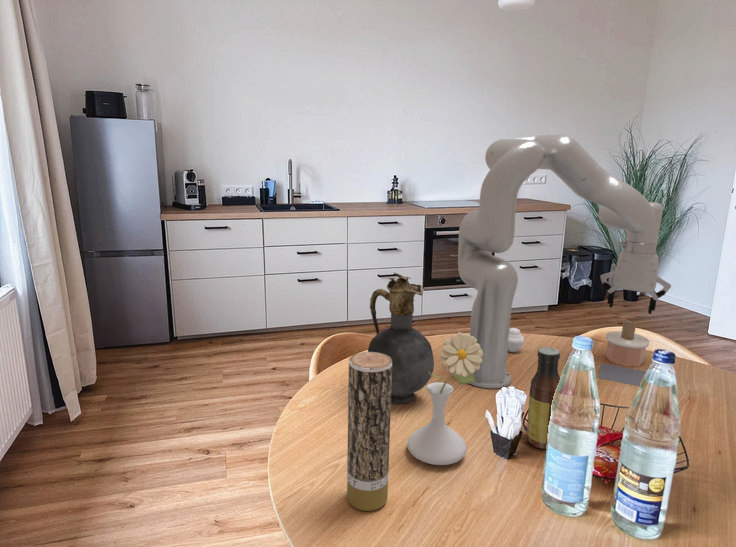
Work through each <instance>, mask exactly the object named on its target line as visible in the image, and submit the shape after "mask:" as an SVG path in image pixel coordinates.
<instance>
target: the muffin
mask: <svg viewBox="0 0 736 547" xmlns="http://www.w3.org/2000/svg"><path fill="white" fill-rule="evenodd" d="M524 343H525V337H524V336H523V335H522V333H521V330H520V329H519V328H516V327H510V329H509V340H508V351H507V352H510V353H518V352H519V351H520V350H521V348H522V347H523V344H524Z"/></svg>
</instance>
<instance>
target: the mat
mask: <svg viewBox="0 0 736 547" xmlns="http://www.w3.org/2000/svg"><path fill="white" fill-rule="evenodd" d="M645 373H646V374H647V371H646V370H641V369H633V368H630V367H626V366H620V365H614V364H608V363H604V362H602V363H600V368H599V372H598V377H597V378H598V379H601V380H604V381H605V380H606V381H610V382H615V383H616V382H617V383H620V384H627V385H631V386H636V387H640V383H641V381H642V379H643V377H644V375H645Z"/></svg>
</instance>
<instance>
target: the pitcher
mask: <svg viewBox="0 0 736 547" xmlns="http://www.w3.org/2000/svg"><path fill="white" fill-rule="evenodd" d="M393 274H395V276H396V277H398V278H397V279H395V277H392V278H391V277H388V279H389V280H390V281H388V283H387V285H386V289H387V290H388V291H387V290H386V289H383V288H378V289H376V290H374V291H373V292H372V294H371V297H370V298H369V309H370V314H371V318H372V321H373V322H372V323H373V325H374V328H375V329H374V330H375V332H376V335H375V336H374V337H373V338H372V339H371V340H370V343H369V345H368V348H367V352H377V353H382V354H385V355H387V356H389V357H390V358H391V359H392V387H391V404H392V403H393V404H399V405H400V404H401V405H403V404H409V403H412V402H413V401H414V400H415V397H416V395H415V393H417V392H419V391H420V390H422V389H423V388H424V387H425V386H427V385H428V382H429V381H430V379H431V377H433V376H432V375H430V374H429V372H430V373H431V374H433V373H434V368H435V358H434V353H433V348H432V345H431V342H430V341H429V340H428V338H427V337H425V335H424V334H422V333H421V331H419V330H418V329H416V328H413V314H414V312H415V304H414V301H415V299H414V298H415V295H416V294H417V295H419V296H423V294H424V291H423V290H422V288H423V286H422V285H421V284H415V283H410V282H409V280H410V279H411V280H412V278H411V277H409V276H403V275H402V274H400V273H397V272H394V271H393ZM379 296H380V297H383V298H384V299H385V300H386V301H388V302H389V313H390V327H386V328H384V329H382V330H381V331H380V329H379V328H380V327H379V324H378V319H377V310H376V302H377V299H378V297H379ZM428 371H429V372H428Z"/></svg>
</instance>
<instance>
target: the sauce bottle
mask: <svg viewBox="0 0 736 547" xmlns="http://www.w3.org/2000/svg"><path fill="white" fill-rule="evenodd" d="M560 355H561V353H560V350H559V349H557V348H553V347H547V346H545V347H544V346H543V347H540V348H539V349H538V350H537V358H538V360H537V361H538V362H537V367H536V371H535V374H534V376H533V377H532V378H531V381H530V387H529V399H528V411H527V412H528V413H527V429H526V432H527V434H526V435H527V440H528V442H529V444H531V445H532V446H533V447H535V448H537V449H542V450H547V449H546V444H547V433H548V425H549V421H550V416H551V405H552V400H553V396H554V393H555V390H556V388H557V385H558V383H559V380H560V378H561V376H560V374H559V360H560V358H561V356H560Z"/></svg>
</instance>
